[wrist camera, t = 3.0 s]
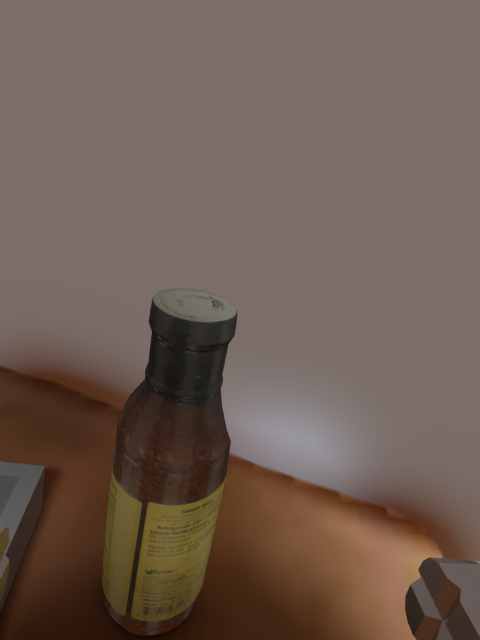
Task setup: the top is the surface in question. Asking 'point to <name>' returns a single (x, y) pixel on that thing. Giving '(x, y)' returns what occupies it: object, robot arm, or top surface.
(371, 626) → the top surface
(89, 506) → the top surface
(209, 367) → the sauce bottle
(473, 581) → the robot arm
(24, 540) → the bottle collar
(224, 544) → the top surface
